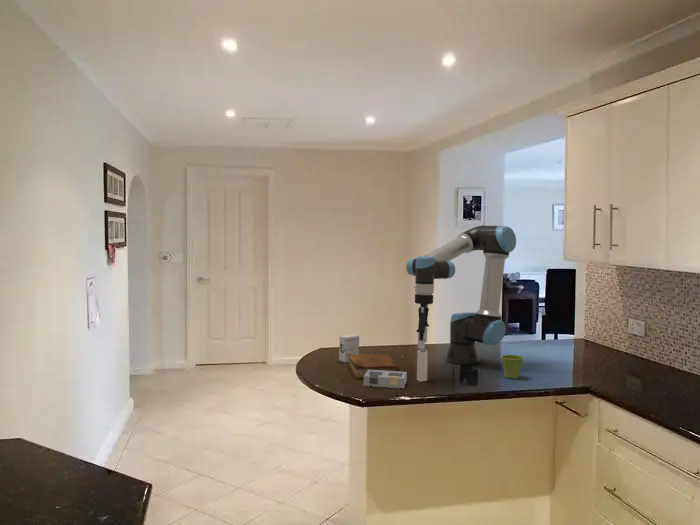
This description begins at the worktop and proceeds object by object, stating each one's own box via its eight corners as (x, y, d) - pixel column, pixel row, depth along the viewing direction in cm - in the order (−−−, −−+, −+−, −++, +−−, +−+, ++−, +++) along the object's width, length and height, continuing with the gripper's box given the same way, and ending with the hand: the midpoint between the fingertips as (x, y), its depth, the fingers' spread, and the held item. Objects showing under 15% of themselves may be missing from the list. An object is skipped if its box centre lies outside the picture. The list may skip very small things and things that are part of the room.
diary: (399, 379, 253) (399, 366, 253) (355, 380, 251) (355, 366, 250) (388, 366, 276) (388, 353, 275) (347, 366, 273) (347, 354, 273)
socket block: (406, 381, 247) (406, 371, 247) (403, 388, 236) (404, 378, 236) (368, 379, 250) (368, 369, 250) (363, 386, 239) (363, 375, 239)
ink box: (352, 358, 288) (353, 334, 287) (359, 360, 284) (360, 335, 283) (338, 360, 283) (338, 335, 282) (345, 363, 279) (345, 337, 278)
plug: (427, 379, 252) (427, 348, 251) (426, 381, 248) (427, 350, 247) (417, 378, 253) (418, 348, 252) (416, 381, 249) (417, 350, 248)
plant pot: (495, 375, 260) (496, 355, 260) (513, 373, 264) (514, 353, 264) (509, 380, 252) (510, 360, 251) (527, 378, 256) (528, 358, 255)
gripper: (417, 290, 261) (415, 339, 262) (412, 296, 236) (410, 350, 238) (434, 291, 259) (433, 340, 261) (431, 297, 235) (429, 351, 236)
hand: (422, 345), depth 249 cm, fingers open, 13 cm apart
